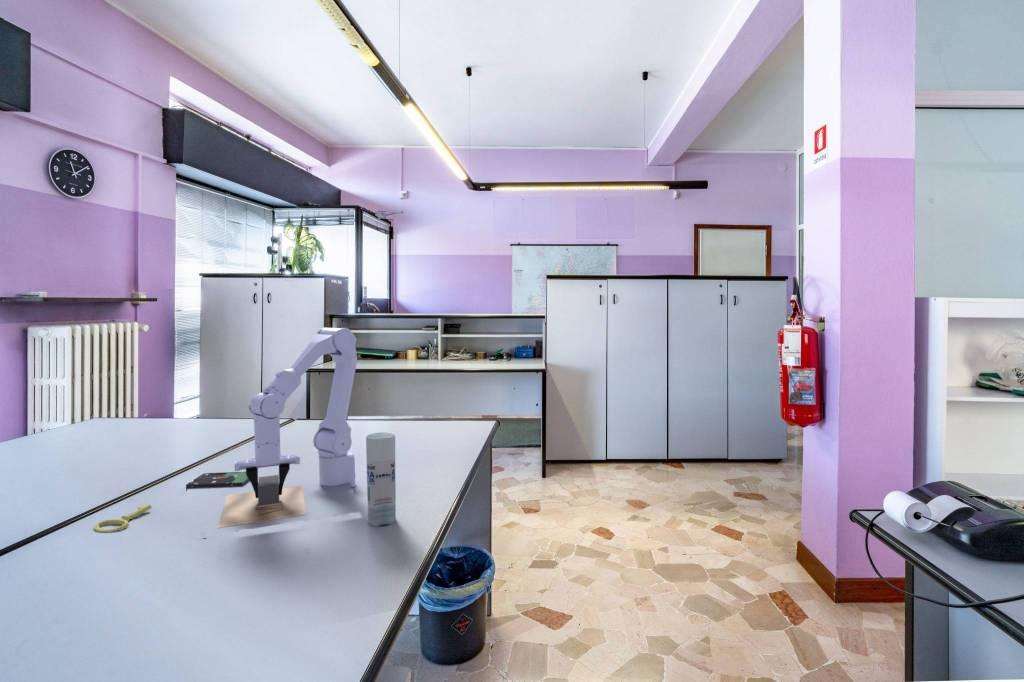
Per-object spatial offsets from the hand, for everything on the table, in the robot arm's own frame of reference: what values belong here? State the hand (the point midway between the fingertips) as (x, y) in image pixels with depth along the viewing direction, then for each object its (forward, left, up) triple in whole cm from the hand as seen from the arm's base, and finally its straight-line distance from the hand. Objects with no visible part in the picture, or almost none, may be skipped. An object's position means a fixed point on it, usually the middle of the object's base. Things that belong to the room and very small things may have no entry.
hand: (269, 495), depth 127 cm
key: (+30, -3, -3) cm, 31 cm away
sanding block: (0, 0, -1) cm, 1 cm away
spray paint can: (-24, +21, -3) cm, 32 cm away
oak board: (+1, +2, -3) cm, 4 cm away
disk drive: (+12, -22, -3) cm, 26 cm away
